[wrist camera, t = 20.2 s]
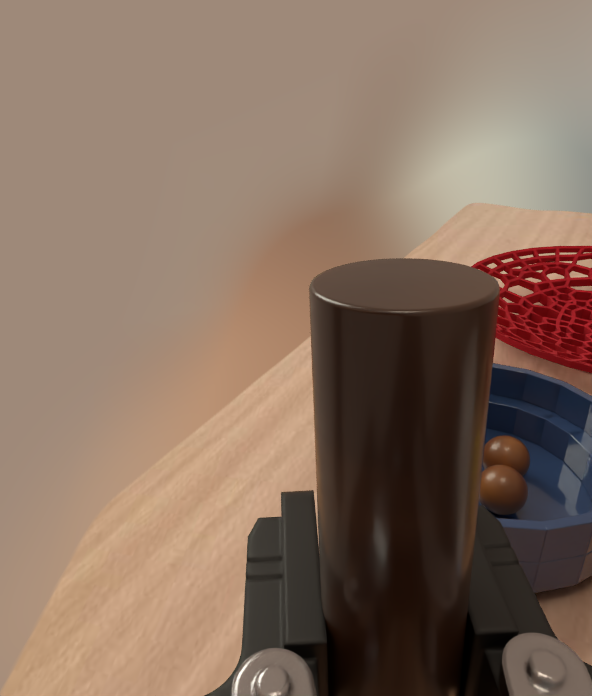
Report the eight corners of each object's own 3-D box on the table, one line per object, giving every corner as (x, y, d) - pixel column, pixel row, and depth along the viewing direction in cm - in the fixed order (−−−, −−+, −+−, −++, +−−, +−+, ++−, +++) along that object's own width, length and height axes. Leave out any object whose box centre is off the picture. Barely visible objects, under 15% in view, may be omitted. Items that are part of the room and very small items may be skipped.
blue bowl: (352, 587, 31) (353, 515, 28) (363, 417, 45) (364, 358, 42) (667, 617, 29) (700, 541, 26) (575, 427, 43) (590, 365, 40)
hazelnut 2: (543, 480, 32) (531, 490, 35) (497, 449, 34) (489, 461, 36) (515, 522, 32) (505, 528, 34) (469, 489, 33) (463, 498, 36)
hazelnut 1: (528, 494, 35) (479, 488, 37) (531, 465, 38) (485, 460, 39) (528, 456, 34) (477, 450, 35) (531, 428, 36) (483, 424, 38)
